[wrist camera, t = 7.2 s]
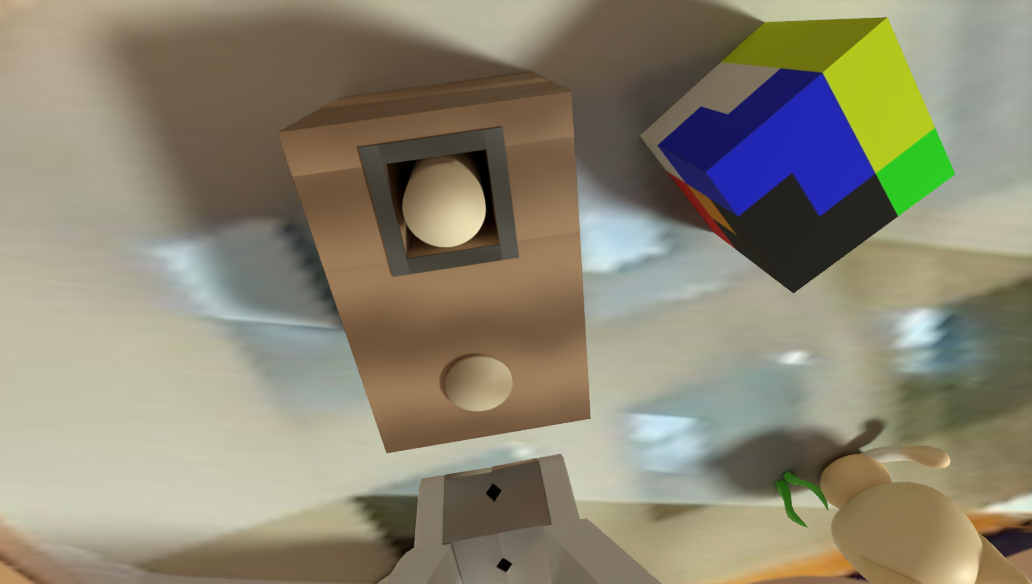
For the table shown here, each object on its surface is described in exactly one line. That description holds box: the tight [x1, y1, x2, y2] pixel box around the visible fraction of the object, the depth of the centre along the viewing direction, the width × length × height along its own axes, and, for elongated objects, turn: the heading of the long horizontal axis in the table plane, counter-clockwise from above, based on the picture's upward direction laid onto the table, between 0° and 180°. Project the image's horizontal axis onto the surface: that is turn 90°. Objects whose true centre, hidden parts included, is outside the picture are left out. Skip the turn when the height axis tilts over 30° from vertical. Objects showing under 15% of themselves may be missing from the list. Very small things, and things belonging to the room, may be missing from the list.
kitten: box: [775, 446, 1032, 584], centre depth 46 cm, size 15×10×15 cm
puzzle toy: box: [640, 17, 955, 293], centre depth 30 cm, size 10×10×10 cm
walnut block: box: [278, 72, 591, 453], centre depth 29 cm, size 18×12×12 cm, turn 7°
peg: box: [402, 151, 486, 247], centre depth 26 cm, size 4×4×12 cm
